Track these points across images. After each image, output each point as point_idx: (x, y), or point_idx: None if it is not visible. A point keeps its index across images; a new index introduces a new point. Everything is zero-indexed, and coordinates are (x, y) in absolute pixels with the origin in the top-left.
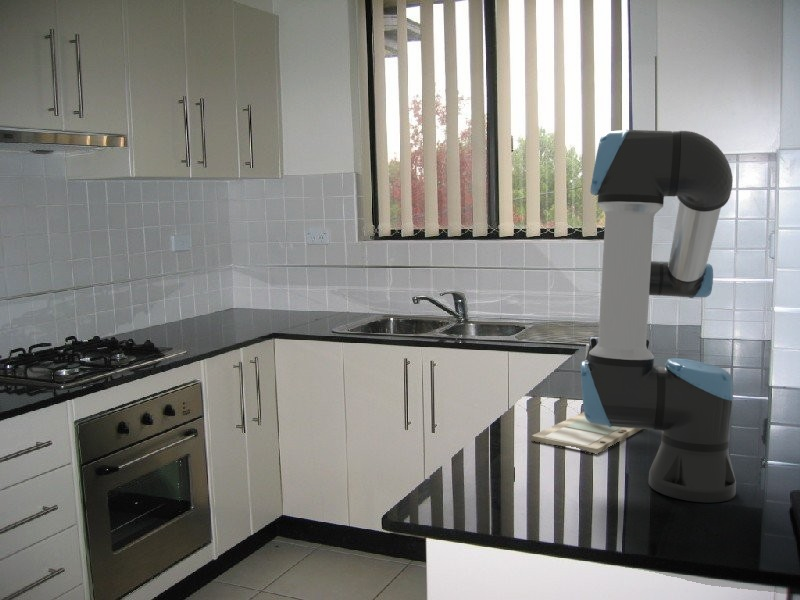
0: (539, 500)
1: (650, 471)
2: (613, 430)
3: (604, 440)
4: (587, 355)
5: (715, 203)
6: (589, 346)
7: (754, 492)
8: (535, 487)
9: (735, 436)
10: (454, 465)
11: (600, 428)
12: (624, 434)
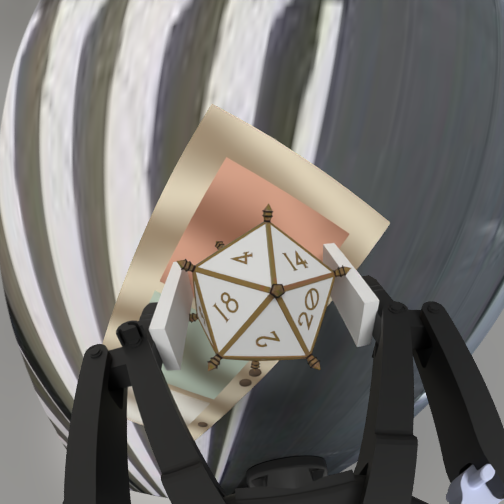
0: (154, 481)
1: (248, 483)
2: (230, 377)
3: (206, 418)
4: (74, 452)
5: None
6: (66, 500)
7: (342, 459)
8: (144, 472)
9: (467, 301)
10: (63, 438)
11: (200, 370)
12: (251, 387)
